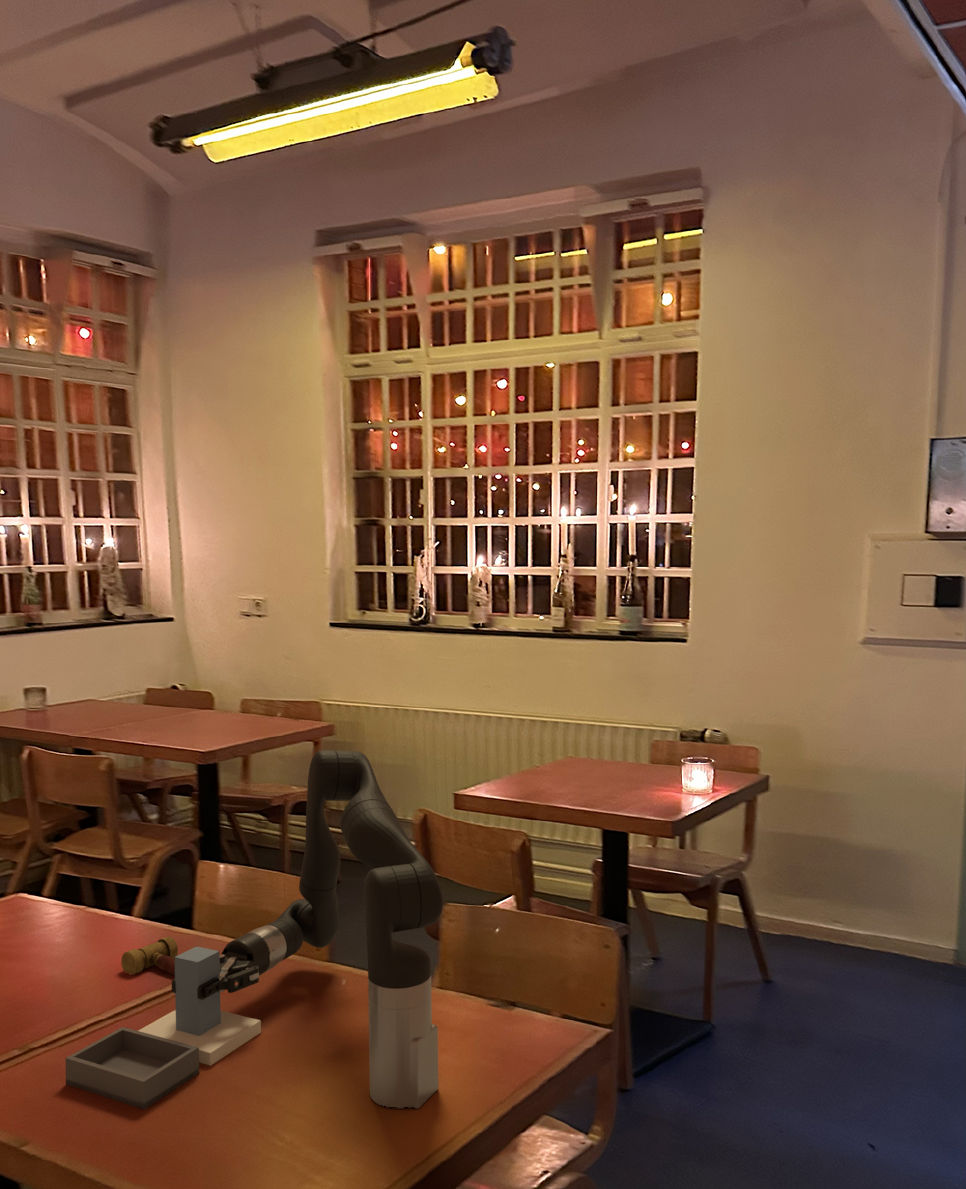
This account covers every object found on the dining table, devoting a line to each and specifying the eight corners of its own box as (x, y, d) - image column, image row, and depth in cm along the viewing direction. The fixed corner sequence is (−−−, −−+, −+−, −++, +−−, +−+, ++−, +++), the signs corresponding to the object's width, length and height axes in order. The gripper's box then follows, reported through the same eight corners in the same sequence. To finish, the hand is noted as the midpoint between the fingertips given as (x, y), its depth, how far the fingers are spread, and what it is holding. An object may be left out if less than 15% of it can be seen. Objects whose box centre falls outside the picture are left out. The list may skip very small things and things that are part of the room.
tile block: (220, 1022, 158) (219, 951, 158) (199, 1035, 154) (197, 962, 153) (197, 1017, 160) (196, 946, 160) (176, 1029, 156) (174, 957, 156)
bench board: (260, 1032, 159) (260, 1020, 159) (210, 1065, 148) (210, 1052, 148) (188, 1014, 166) (188, 1002, 166) (135, 1044, 155) (135, 1032, 155)
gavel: (233, 963, 181) (190, 981, 173) (232, 986, 181) (189, 1005, 173) (164, 933, 193) (120, 949, 185) (163, 955, 193) (120, 972, 185)
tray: (199, 1073, 146) (198, 1047, 146) (144, 1109, 136) (143, 1081, 136) (123, 1051, 153) (122, 1026, 153) (65, 1084, 143) (65, 1057, 143)
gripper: (223, 926, 173) (152, 960, 158) (287, 938, 166) (219, 975, 151) (224, 967, 173) (153, 1005, 158) (287, 981, 167) (220, 1022, 151)
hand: (186, 990), depth 154 cm, fingers closed on tile block, 5 cm apart
